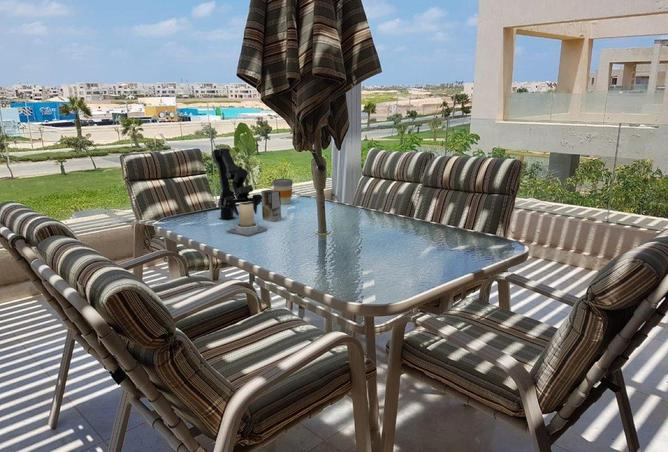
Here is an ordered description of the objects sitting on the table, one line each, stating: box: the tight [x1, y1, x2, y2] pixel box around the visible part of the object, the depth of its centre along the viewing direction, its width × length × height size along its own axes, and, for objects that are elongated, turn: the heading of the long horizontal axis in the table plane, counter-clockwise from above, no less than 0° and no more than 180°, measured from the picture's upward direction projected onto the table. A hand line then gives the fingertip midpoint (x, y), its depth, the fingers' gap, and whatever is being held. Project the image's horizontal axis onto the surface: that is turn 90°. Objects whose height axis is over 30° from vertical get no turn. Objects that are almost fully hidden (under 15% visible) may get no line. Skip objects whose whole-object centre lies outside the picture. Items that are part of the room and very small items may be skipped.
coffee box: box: [261, 189, 282, 223], centre depth 275 cm, size 9×6×16 cm
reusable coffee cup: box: [272, 178, 293, 206], centre depth 318 cm, size 13×13×15 cm
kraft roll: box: [238, 202, 255, 227], centre depth 250 cm, size 7×7×13 cm
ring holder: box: [226, 222, 268, 238], centre depth 251 cm, size 14×14×4 cm
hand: (247, 214), depth 248 cm, fingers open, 9 cm apart
